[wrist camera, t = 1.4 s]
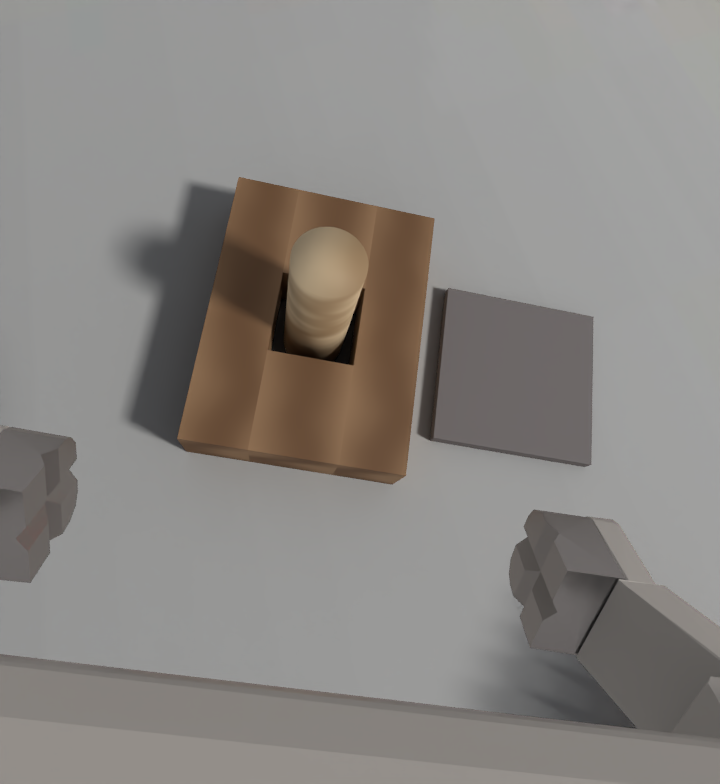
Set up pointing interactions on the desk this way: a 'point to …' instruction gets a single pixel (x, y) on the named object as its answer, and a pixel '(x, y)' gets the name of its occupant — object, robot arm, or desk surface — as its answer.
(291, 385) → the walnut holder
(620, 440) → the desk surface
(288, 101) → the desk surface
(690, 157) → the desk surface
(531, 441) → the charcoal mat
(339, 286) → the beech peg
